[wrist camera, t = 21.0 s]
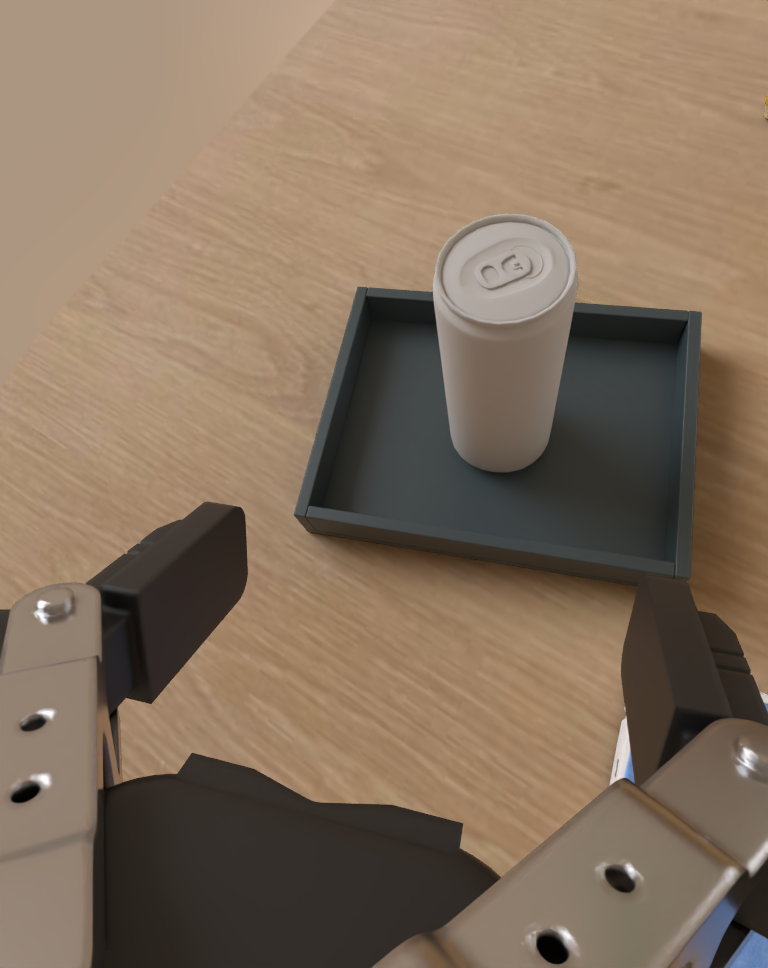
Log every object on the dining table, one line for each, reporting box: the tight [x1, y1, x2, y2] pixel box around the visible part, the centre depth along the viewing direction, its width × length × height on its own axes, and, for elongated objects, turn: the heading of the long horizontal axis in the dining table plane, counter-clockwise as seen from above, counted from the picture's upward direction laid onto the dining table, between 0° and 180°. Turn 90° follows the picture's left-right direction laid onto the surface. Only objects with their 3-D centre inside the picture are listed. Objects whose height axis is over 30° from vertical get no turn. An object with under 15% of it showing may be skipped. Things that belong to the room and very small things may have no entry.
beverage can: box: [433, 213, 578, 472], centre depth 26 cm, size 5×5×12 cm
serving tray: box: [294, 287, 702, 586], centre depth 31 cm, size 17×13×2 cm
